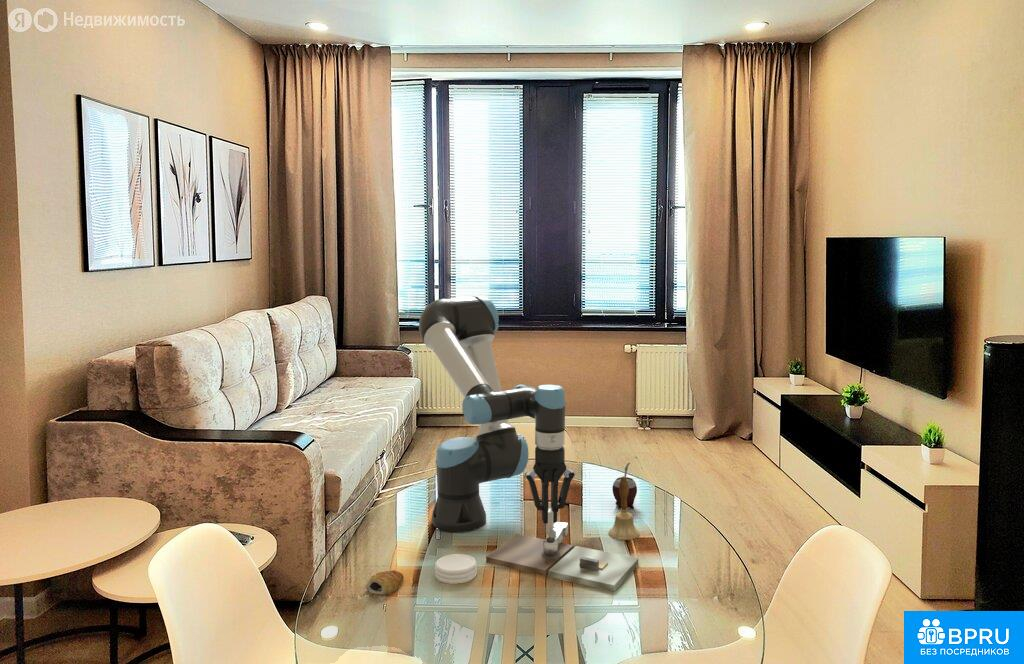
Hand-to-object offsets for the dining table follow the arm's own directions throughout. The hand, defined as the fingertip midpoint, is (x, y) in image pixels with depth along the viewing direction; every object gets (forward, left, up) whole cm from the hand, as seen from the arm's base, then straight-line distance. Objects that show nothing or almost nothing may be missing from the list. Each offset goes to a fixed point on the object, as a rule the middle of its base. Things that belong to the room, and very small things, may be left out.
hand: (549, 534), depth 211 cm
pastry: (-24, -38, -4) cm, 45 cm away
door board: (+7, -8, -3) cm, 11 cm away
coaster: (-13, -25, -4) cm, 28 cm away
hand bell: (+14, +16, -4) cm, 22 cm away
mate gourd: (+7, +35, -4) cm, 36 cm away
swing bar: (+3, -2, -1) cm, 4 cm away
